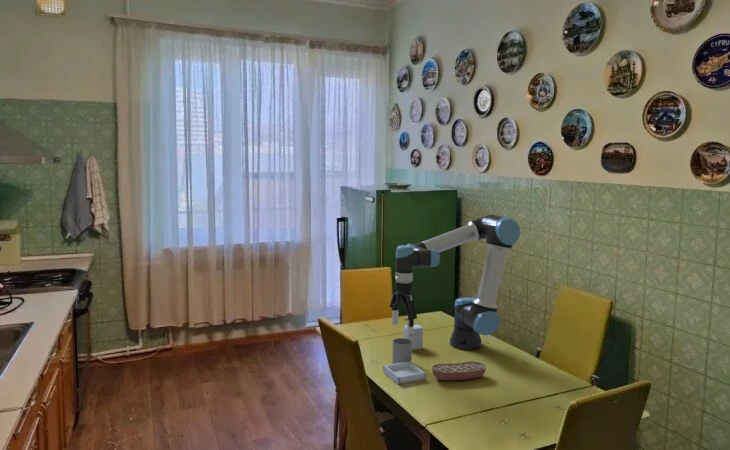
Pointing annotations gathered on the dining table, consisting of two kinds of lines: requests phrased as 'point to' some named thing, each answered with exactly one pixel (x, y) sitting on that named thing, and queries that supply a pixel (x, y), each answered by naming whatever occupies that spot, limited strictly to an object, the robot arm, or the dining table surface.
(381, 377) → the dining table surface
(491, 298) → the robot arm
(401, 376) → the grey tray
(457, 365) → the mitochondrion model
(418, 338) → the small box
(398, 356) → the cup
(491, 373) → the dining table surface
